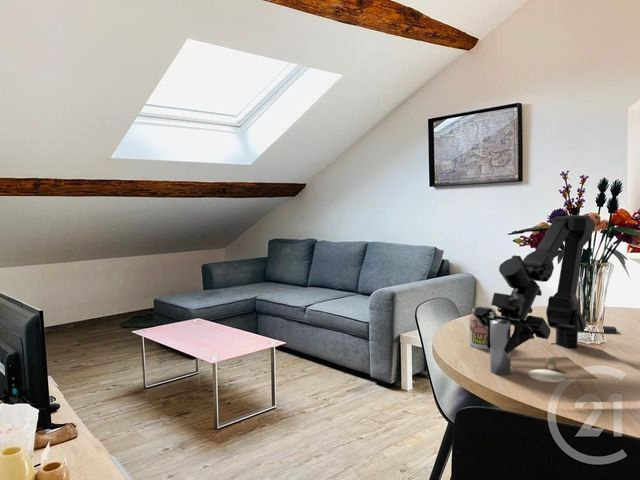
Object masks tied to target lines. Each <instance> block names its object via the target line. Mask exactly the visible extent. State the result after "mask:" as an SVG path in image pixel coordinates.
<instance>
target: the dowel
mask: <svg viewBox="0 0 640 480" xmlns="http://www.w3.org/2000/svg"><path fill="white" fill-rule="evenodd" d="M545 357H546V369H547V370H556V357H557V356H554V355H545Z"/></svg>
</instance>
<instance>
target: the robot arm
mask: <svg viewBox="0 0 640 480" xmlns="http://www.w3.org/2000/svg"><path fill="white" fill-rule="evenodd" d="M595 224H596V223H595V220H594V219H592V218H591V216H590V215H588V214H584V215H583V214H581V215H580V214H579V215H578V214H576V215H575V214H574V215H573V214H572V215H571V214H567V215H565V216H555V217H552V219H551V222H550V226H549V227H548V229H547V231H546V232H545V234H544V236H543V237H542V239H541V241H540V243H538V246H537V248H536V249H535V250H534V251H532V252H530V253H529V254H527V255H526V256H525V257H524V258H523V259H522V256H520V255H512V257H511V258H508V259H507V260H504V261H503V262H502V263H501V264H500V265H499V267H498V272H499V273H500V274H501V276H502V277H503V279H504V281H505V282H506V284H507V285H508V286H509V287H510V288H511V289H512V291H511V293H510V294H506V293H499V292H494V293H493V296H492V299H491V306H495V307H497V309H496V311H498V313H500V314H497V313H496V314H497V315H496V314H495V313H494V312H493V311H492V309H491V308H492V307H490V308H485V307H486V306H476V307H477V308H476V309H475V311H474V313H473V314H474V315H475V317H476V318H477V319H478V321H479V322H480V323H481V324H482V325H483V326H487V327H488V336H487V347H488V348H489V349H488V350H490V321H491V320H494V319H503V320H508V321H510V322H511V326H513V333H512V335H511V338H510V340H509V342H508V344H507V347H506V350H505V351H506V353H509V352H513V351H514V350H515V349H516V348H518V347H519V346H521V345H522V344H524V343H526V342H528V340H534V338H535V337H536V338H539V339H544V340H548V339H549V337H550V335H551V333H552V332H551V331H552V330H551V327H550V326H553V327H556V329H555V342H551V343H550V345H555V346H558V347H563V348H566V349H578V333H579V332H584V329H585V326H586V324H587V321H586V319H585V317H584V315H583V314H582V312H581V303H580V301H579V299H578V297H577V290H578V289H577V288H578V283H579V282H578V281H579V277H580V270H581V263H582V257H583V252H584V246H585V245H586V244H587V243H589V240H590V239H592V236H593V235H592V234H593V231H594V229H595ZM563 244H564V247H563V254H562V259H561V266H560V273H559V279H558V285H557V291H556V293H554V295H550V296H549V297H548V299H547V308H546V311H545V315H546V320H547V322H546V320H545V318H544V317H540V316H535V315H529V314H532V312H533V308H532V306H533V304H534V301H535V299H536V298H537V296H538V297H539V296H540V297H541V296H542V290H541V287H540V285H538V283H537V282H542V283H543V282H546V283H547V282H548V281H549V280H550V278H551V277H552V276H553V271H554V270H555V265H554V259H555V257H556V255H557V253H558V252H559V250H560V248H561V247H562V245H563ZM534 335H535V336H534Z"/></svg>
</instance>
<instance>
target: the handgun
mask: <svg viewBox="0 0 640 480" xmlns="http://www.w3.org/2000/svg"><path fill="white" fill-rule="evenodd" d="M602 326H603V329H604V333H603V334H610V335H612V334H613V335H617V333H618V332H617V331H618V329H617V328H616V327H615V326H606V325H602ZM549 328H551V329H552V328H553V329H555V330H556V327H553V326H549Z"/></svg>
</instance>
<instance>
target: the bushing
mask: <svg viewBox="0 0 640 480" xmlns="http://www.w3.org/2000/svg"><path fill="white" fill-rule="evenodd" d="M511 326H512V325H511V322H510V321H508V320H503V319H494V320H491V321H490V349H489V351H490V355H489V356H490V359H489V360H490V369H489V370H490V373H491V374H493V375H496V376H509V375H511V372H512V367H511V358H512V354H511V352H512V351H511V352H509V353H506V351H505V350H506V347H507V344H508V342H509V340H510V338H511V336H512V335H511V331H512V329H511Z"/></svg>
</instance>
